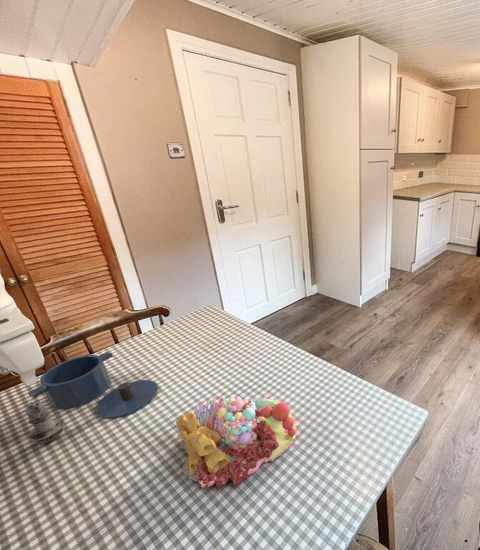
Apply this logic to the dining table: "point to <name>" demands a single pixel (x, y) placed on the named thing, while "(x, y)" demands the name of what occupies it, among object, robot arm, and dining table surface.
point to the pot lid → (127, 399)
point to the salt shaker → (43, 424)
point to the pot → (75, 381)
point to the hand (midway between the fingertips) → (18, 377)
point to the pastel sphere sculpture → (234, 438)
